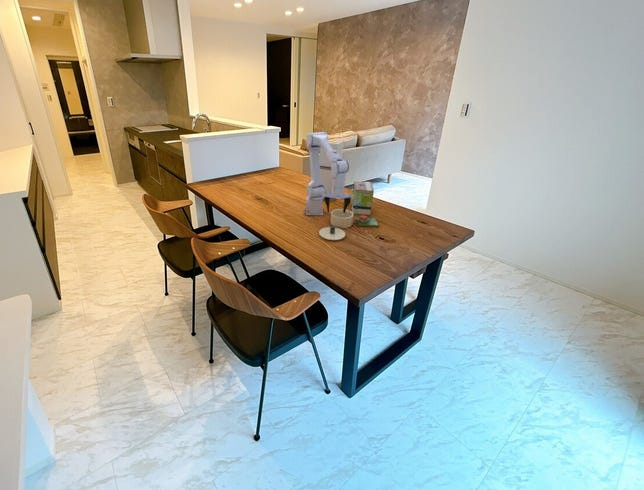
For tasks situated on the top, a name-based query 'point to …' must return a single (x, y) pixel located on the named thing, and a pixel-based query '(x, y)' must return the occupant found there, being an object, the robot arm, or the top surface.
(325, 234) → the tin lid
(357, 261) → the top surface
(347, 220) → the tin
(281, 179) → the top surface
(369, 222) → the release base
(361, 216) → the button
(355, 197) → the tea box
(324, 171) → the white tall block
